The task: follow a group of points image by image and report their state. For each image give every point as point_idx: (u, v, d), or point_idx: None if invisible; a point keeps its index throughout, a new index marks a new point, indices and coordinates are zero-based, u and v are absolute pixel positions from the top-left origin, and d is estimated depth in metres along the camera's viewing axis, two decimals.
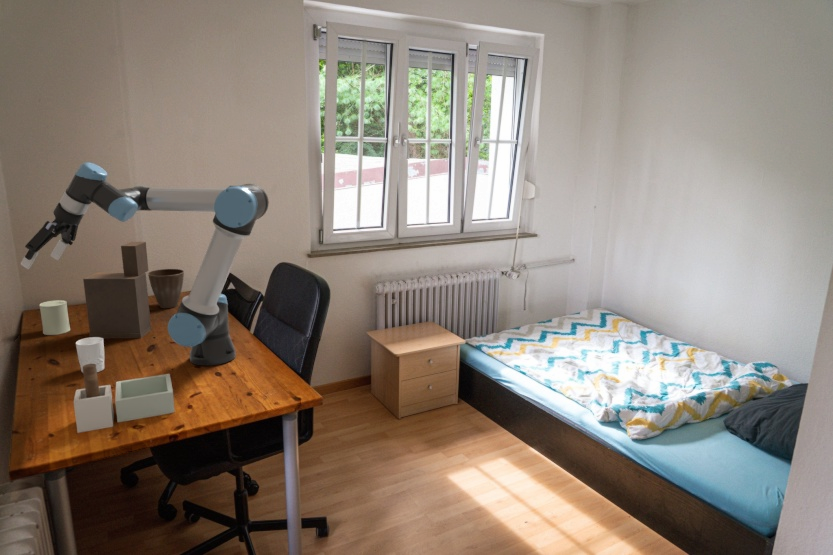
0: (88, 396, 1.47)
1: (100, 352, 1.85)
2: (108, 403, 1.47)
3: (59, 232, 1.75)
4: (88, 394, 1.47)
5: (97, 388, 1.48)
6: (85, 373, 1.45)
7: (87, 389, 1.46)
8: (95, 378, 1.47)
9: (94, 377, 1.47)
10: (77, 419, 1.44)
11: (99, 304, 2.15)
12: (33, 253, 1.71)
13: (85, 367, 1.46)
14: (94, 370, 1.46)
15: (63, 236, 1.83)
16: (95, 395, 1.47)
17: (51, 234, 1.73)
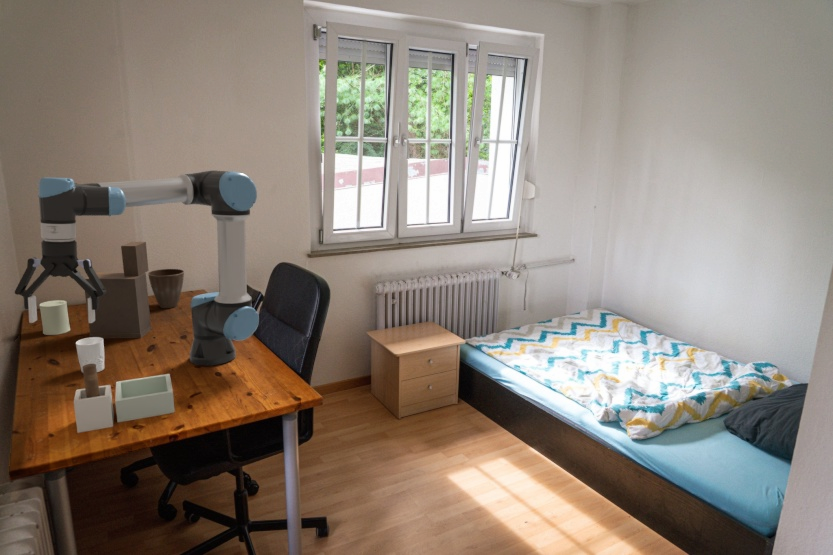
0: (88, 396, 1.47)
1: (100, 352, 1.85)
2: (108, 403, 1.47)
3: (74, 268, 1.47)
4: (88, 394, 1.47)
5: (97, 388, 1.48)
6: (85, 373, 1.45)
7: (87, 389, 1.46)
8: (95, 378, 1.47)
9: (94, 377, 1.47)
10: (77, 419, 1.44)
11: (99, 304, 2.15)
12: None
13: (85, 367, 1.46)
14: (94, 370, 1.46)
15: (36, 287, 1.44)
16: (95, 395, 1.47)
17: (79, 274, 1.46)
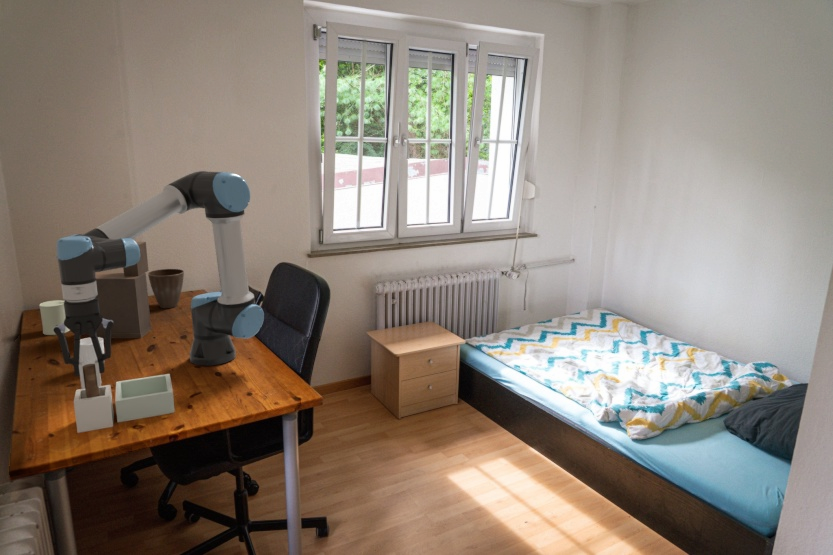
0: (88, 396, 1.47)
1: None
2: (108, 403, 1.47)
3: None
4: (88, 394, 1.47)
5: (97, 388, 1.48)
6: (85, 373, 1.45)
7: (87, 389, 1.46)
8: (95, 378, 1.47)
9: (94, 377, 1.47)
10: (77, 419, 1.44)
11: (99, 304, 2.15)
12: None
13: (85, 367, 1.46)
14: (94, 370, 1.46)
15: (79, 351, 1.44)
16: (95, 395, 1.47)
17: (96, 334, 1.46)
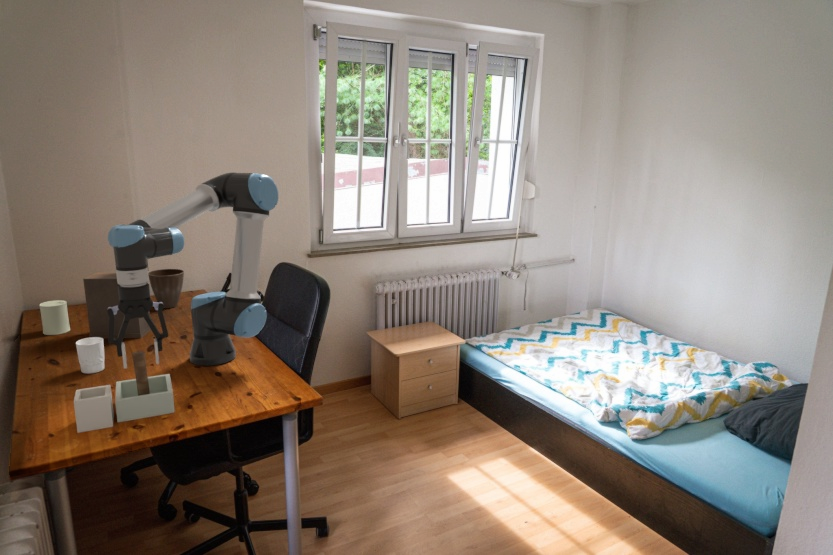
0: (138, 381, 1.56)
1: (100, 352, 1.85)
2: (108, 403, 1.47)
3: None
4: (138, 379, 1.56)
5: (146, 374, 1.57)
6: (135, 360, 1.55)
7: (137, 375, 1.56)
8: (144, 364, 1.56)
9: (143, 364, 1.56)
10: (77, 419, 1.44)
11: (99, 304, 2.15)
12: None
13: (135, 354, 1.55)
14: (143, 357, 1.56)
15: None
16: (144, 381, 1.57)
17: (149, 316, 1.56)
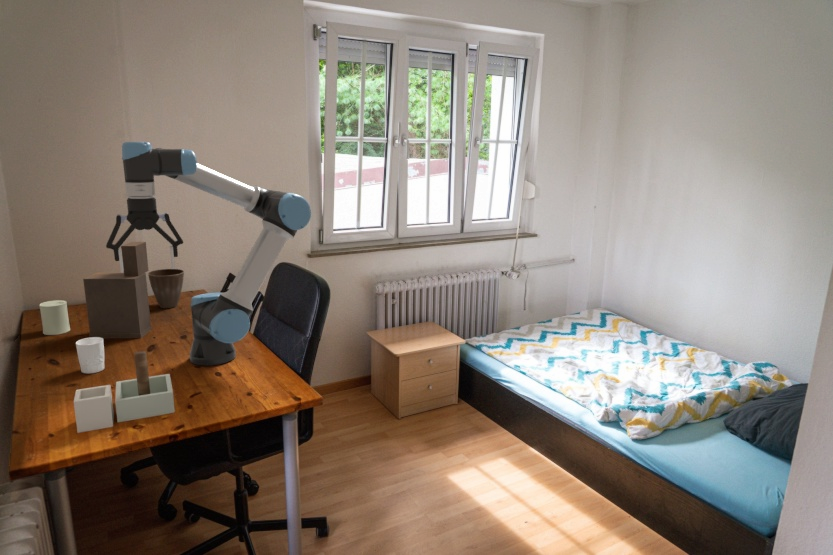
0: (139, 381, 1.56)
1: (100, 352, 1.85)
2: (108, 403, 1.47)
3: None
4: (139, 379, 1.56)
5: (147, 374, 1.57)
6: (137, 359, 1.55)
7: (138, 374, 1.56)
8: (145, 364, 1.56)
9: (145, 364, 1.56)
10: (77, 419, 1.44)
11: (99, 304, 2.15)
12: None
13: (136, 354, 1.55)
14: (145, 357, 1.56)
15: (123, 241, 1.63)
16: (145, 381, 1.57)
17: None
